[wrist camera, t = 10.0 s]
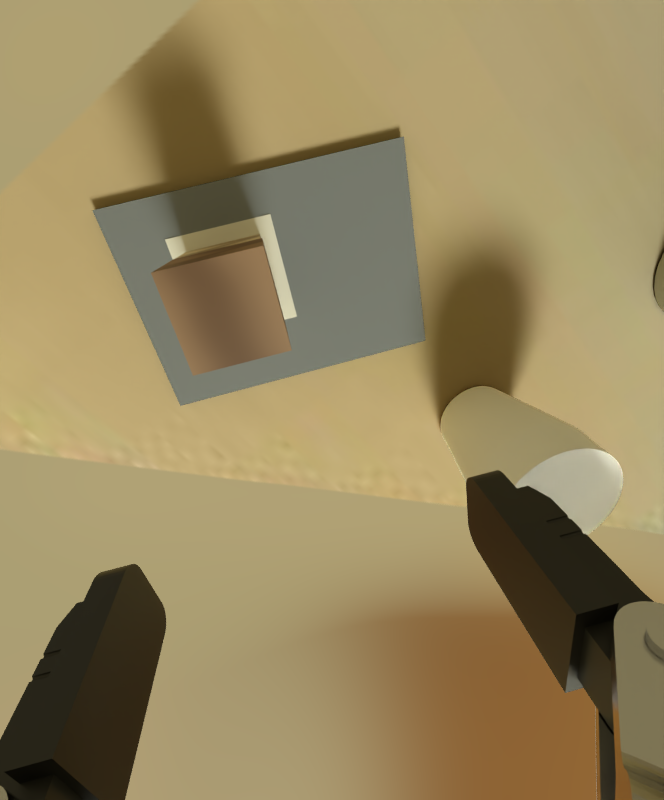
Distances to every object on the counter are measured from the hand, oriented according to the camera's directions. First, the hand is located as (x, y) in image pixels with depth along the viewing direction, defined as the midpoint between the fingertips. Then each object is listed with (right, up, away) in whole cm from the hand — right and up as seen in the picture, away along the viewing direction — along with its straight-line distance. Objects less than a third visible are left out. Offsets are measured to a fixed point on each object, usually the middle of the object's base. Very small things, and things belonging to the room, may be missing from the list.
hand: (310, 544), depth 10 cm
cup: (+14, +2, +27) cm, 30 cm away
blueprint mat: (-3, +12, +19) cm, 23 cm away
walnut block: (-5, +10, +13) cm, 17 cm away
